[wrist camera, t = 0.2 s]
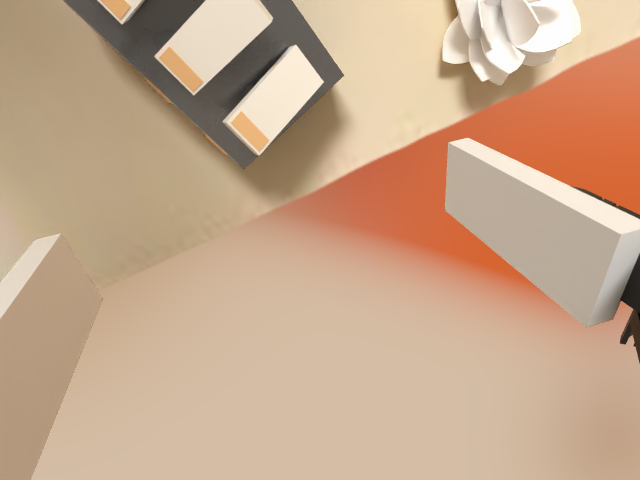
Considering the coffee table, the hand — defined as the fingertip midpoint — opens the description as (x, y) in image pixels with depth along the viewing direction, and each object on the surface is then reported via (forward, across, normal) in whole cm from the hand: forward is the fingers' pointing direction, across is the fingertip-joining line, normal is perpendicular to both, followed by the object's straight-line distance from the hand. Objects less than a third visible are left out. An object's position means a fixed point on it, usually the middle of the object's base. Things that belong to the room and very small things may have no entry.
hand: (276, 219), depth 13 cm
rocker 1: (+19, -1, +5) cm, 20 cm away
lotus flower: (+28, +27, +3) cm, 39 cm away
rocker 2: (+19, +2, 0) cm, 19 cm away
